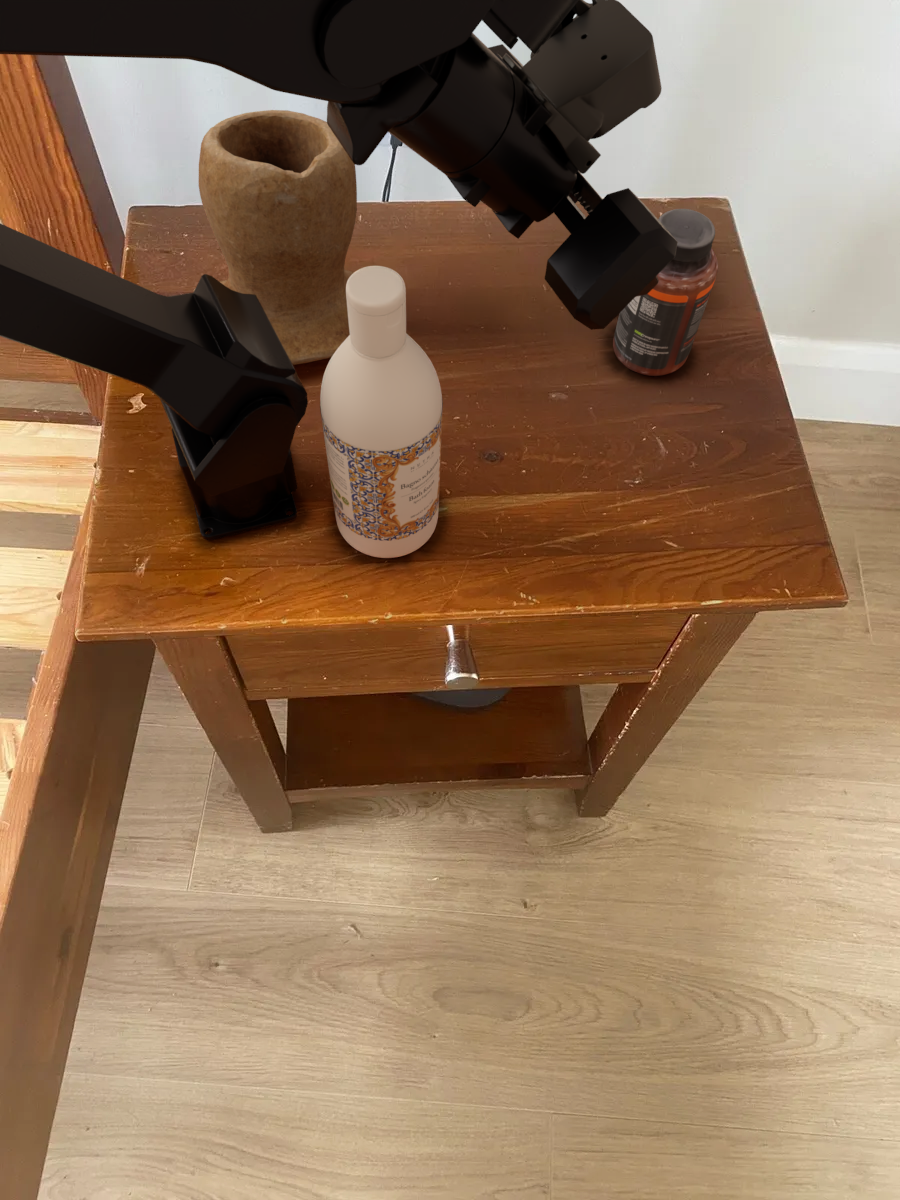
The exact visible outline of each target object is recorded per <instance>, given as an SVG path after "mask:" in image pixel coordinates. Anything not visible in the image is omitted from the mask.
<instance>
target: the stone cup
mask: <svg viewBox="0 0 900 1200" xmlns="http://www.w3.org/2000/svg"><path fill="white" fill-rule="evenodd" d="M199 151H200V153H199V159H198V190H199V195H200V196H199V197H200V200H201V204H202V208H203V210H204V213H205V215H206V219H207V221H208V224H209V226H210V228H211V231H212V233H213V236H214V238H215V240H216V242H217V245H218V247H219V249H220V251H221V253H222V255H223V258H224V261H225V263H226V266H227V272H228V276H227V277H228V278H227V279H224V280H221V281H220V280H218V281H219V282H220V283H222V284H223V285H224V286H226V287H228V288H229V289H231V290H233V291H236V292H239V293H242V294H254V295H256V296H257V298H258V300H259V302H260V304H261V306H262V307H263V309H264V311H265V313H266V315H267V317H268V319H269V321H270V323H271V325H272V326H273V328H274V330H275V332H276V334H277V336H278V338H279V340H280V342H281V343H282V345H283V347H284V349H285V351H286V353H287V355H288V357H289V359H290V361H291V362H292V364H293V366H295V365H302V364H306V363H312V362H317V361H321V360H328V359H331V357H332V356H333V354H334V353H335V351H336V350H337V349H338V348H339V346H340V345H341V344H342V343H343V342H344V341H345V339H346V338H347V337H348V336H349V335H350V332H349V322H348V311H347V299H346V284H347V281H348V279H349V277H350V276H351V275H352V274H353V273H354V272H355V271H352V270H349V269H345V263H346V258H347V254H348V250H349V247H350V245H351V242H352V237H353V234H354V229H355V226H356V225H355V224H356V220H357V212H358V189H357V188H358V187H357V184H358V183H357V171H356V165H355V164H354V163H353V162H352V160H351V159H350V157H349V156H348V154H347V153H346V151H345V150H344V148H343V147H342V145H341V144H340V142H339V141H338V139H337V138H336V136H335V135H334V133H333V132H332V130H331V129H330V127H329V126H328V124H327V120H326V121H325V120H324V119H321V118H319V117H315V116H312V115H309V114H306V113H302V112H297V111H292V110H287V109H285V110H282V109H281V110H280V109H268V110H258V111H257V110H256V111H250V112H249V111H248V112H244V113H241V114H237V115H233V116H230V117H227V118H225V119H222V120H221V121H219V122H217V123H215V125H213V126H211V127H210V128H209V129H208V130H207V132H206V133H205V134H204V136H203V138H202V141H201V143H200V149H199ZM194 290H195V288H194V289H193V291H194Z"/></svg>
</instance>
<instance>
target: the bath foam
mask: <svg viewBox="0 0 900 1200" xmlns="http://www.w3.org/2000/svg"><path fill="white" fill-rule="evenodd" d="M353 272H354V273H353V274H352V275H351V276H350V277H349V279H348V281H347V284H346V299H347V311H348V322H349V332H350V335H349V336H348V337H347V338H346V339H345V341H344V342H343V343H342V344H341V345H340V346H339V348H338V349H337V350H336V351H335V353H334V354H333V356H332V357H331V358H329V361H328V363H327V365H326V368H325V370H324V373H323V376H322V381H321V387H320V396H319V411H320V417H321V424H322V432H323V439H324V446H325V453H326V460H327V467H328V468H327V469H328V475H329V480H330V489H331V495H332V496H331V497H332V502H333V508H334V515H335V520H336V525H337V528H338V531H339V533H340V535H341V537H343V539H344V540H345V541H346V543H347V544H348V545H350V546H351V547H352V548H354V549H355V550H356V551H358V552H360V553H362V554H364V555H367V556H369V557H370V556H371V557H374V558H381V559H392V558H393V559H394V558H398V557H403V556H406V555H409V554H411V553H413V552H415V551H417V550H419V549H420V548H421V547H422V546H424V545H425V544H426V543H427V542H428V541H429V540H430V538H431V537H432V536H433V533H434V532H435V530H436V527H437V524H438V519H439V505H440V487H441V483H440V482H441V463H442V461H441V459H442V435H443V432H442V431H443V408H444V407H443V405H444V403H443V395H442V394H443V393H442V387H441V384H440V380H439V375H438V373H437V371H436V368H435V366H434V363H433V362H432V361H431V359H430V357H429V355H427V353H426V352H425V350H424V349H423V348H422V346H420V345H419V344H418V343H417V342H416V341H415V339H413V338H412V337H411V336H410V335H409V334H408V333H407V289H406V283H405V280H404V279H403V277H402V276H401V274H400V273H398V272H397V271H396V270H394V269H392V268H390V267H387V266H383V265H368V266H364V267H360V268H359V269H357V270H355V271H353Z"/></svg>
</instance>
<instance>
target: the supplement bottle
mask: <svg viewBox="0 0 900 1200" xmlns="http://www.w3.org/2000/svg"><path fill="white" fill-rule="evenodd" d="M657 219H658V220H659V221H660V222H661V223H662V225H663V226H664V227H665V228H666V229H667V230H668V231H669V233H670V234H671V235H672V236H673V237H674V238H675V239H676V241H677V242H678V243H677V249H676V255H675V258H674V259H673V260H672V261H671V262H670V263H669V264H668V265H667V266H666V267H665V268H664V269H663V270H662V271H661V272H660V273H659V274H658V275H657V277H658V280H659V282H658V284H657V285H656V286H655V287H654V288H653V289H652V290H651V291H650V292H649V293H648V294H646V295H642V296H637V297H635V298H634V299H633V300H632V301H631V302H630V303H629V304H628V305H627V306H626V307H625V308H624V309H623V310H622V311H621V312H620V313H619V314H618V318H617V322H616V325H615V330H614V334H613V339H612V347H613V352H614V354H615V356H616V358H617V360H618V361H619V362H620V363H621V364H622V365H624V367H626V368H627V369H629V370H631V371H633V372H634V373H638V374H640V375H644V376H650V377H653V376H654V377H657V376H659V377H660V376H666V375H669V374H672V373H674V372H676V371H678V370H680V368H681V367H682V366H683V365H685V363H686V361H687V359H688V357H689V355H690V353H691V351H692V348H693V345H694V342H695V339H696V335H697V334H698V331H699V328H700V325H701V322H702V318H703V317H704V313H705V310H706V307H707V304H708V301H709V299H710V296H711V293H712V290H713V287H714V285H715V282H716V279H717V277H718V276H717V275H718V270H719V263H718V258H717V255H716V252H715V250H714V249H713V243H714V240H715V237H716V228H715V224H714V223H713V221H712V220H711V219H710V218H709V217H708V216H706V215H705V214H703V213H702V212H699V211H696V210H694V209H691V208H674V209H671V210H670V209H669V210H667V211H666V212H663V213H662V214H661V215H659V217H658V218H657Z"/></svg>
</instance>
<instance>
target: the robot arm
mask: <svg viewBox="0 0 900 1200" xmlns="http://www.w3.org/2000/svg"><path fill="white" fill-rule="evenodd" d="M591 2H592V3H591ZM591 2H587V1H585V0H0V55H19V56H21V55H22V56H53V57H55V56H57V57H58V56H59V57H61V56H62V57H90V58H91V57H93V58H94V57H95V58H97V57H98V58H131V59H132V58H135V59H136V58H137V59H170V60H171V59H172V60H175V59H176V60H191V61H194V62H199V63H205V64H208V65H214V66H217V67H220V68H222V69H225V70H227V71H230V72H232V73H234V74H236V75H239V76H241V77H242V78H245V79H247V80H250V81H251V82H254V83H255V84H259V85H261V86H263V87H266V88H267V89H270V90H273V91H276V92H280V93H285V94H289V95H295V96H301V97H304V98H309V99H315V100H321V101H326V102H327V106H326V122H327V124H328V126H329V127H330V129H331V130H332V132H333V133H334V135H335V136H336V138H337V139H338V141H339V142H340V144H341V145H342V147H343V148H344V150H345V151H346V153H347V154H348V156H349V157H350V159H351V160H352V162H353V163H354V164H355V166H362V165H364V164H365V163H367V161H368V159H369V158H370V156H372V154H373V153H374V152H375V150H376V148H377V147H378V146H379V144H380V143H381V142H382V141H383V139H384V138H385V137H386V136H387V134H388V133H389V134H390V135H391V136H393V137H394V138H396V139H397V140H398V141H399V142H400V143H402V144H403V145H404V146H406V147H407V148H409V149H410V150H411V151H412V152H414V153H416V154H417V155H418V156H420V157H421V158H422V159H424V160H425V161H426V162H428V163H429V164H430V165H431V166H433V167H434V168H435V169H437V170H438V171H440V172H441V173H443V174H444V175H445V176H446V177H447V179H448V180H449V181H450V183H451V184H452V186H454V188H455V190H456V191H457V192H458V194H459V195H460V197H461V198H462V199H463V200H464V201H466V202H467V203H468V204H470V205H471V206H472V207H473V208H476V207H477V206H478V204H480V202H481V203H483V204H484V205H485V206H486V207H488V208H489V209H491V211H492V212H493V214H494V215H495V216H496V218H497V219H498V221H500V223H501V224H502V225H503V227H504V228H505V229H506V231H507V232H508V233H509V234H510V235H512V236H513V237H515V238H516V239H518V240H519V239H520V238H521V236H523V235H524V233H525V232H526V231H527V230H528V229H529V228H530V226H531V225H532V224H533V223H540V222H542V221H544V220H546V219H547V218H549V217H551V216H552V215H553V214H554V215H555V216H556V217H557V219H558V220H559V221H560V223H561V224H562V225H563V227H564V228H565V229H566V230H567V231H568V233H569V236H568V237H567V238H566V239H565V240H564V241H563V242H562V243H561V244H560V245H559V246H558V248H557V249H556V250H555V251H554V252H553V253H552V254H551V255H550V256H549V258H547V261H546V265H545V266H546V268H545V273H544V280H545V282H546V283H547V285H548V287H550V288H551V290H552V291H553V292H554V294H555V295H556V297H557V298H558V299H559V300H560V302H561V303H562V304H563V305H564V307H565V308H566V310H567V311H568V313H570V315H571V316H572V318H573V319H574V320H576V321H577V322H578V323H580V324H582V325H583V326H584V327H586V328H588V329H589V330H591V331H594V330H604V329H605V328H607V326H608V325H609V324H610V323H611V322H612V321H613V320H614V319H615V318H616V317H617V316H619V314H620V312H621V311H622V310H623V309H624V308H625V307H626V306H627V305H628V304H629V303H630V302H631V301H632V300H633V299H634V298H635V297H637V296H642V295H646V294H648V293H649V292H650V291H651V290H652V289H653V288H654V287H655V286H656V285H657V284H658V282H659V280H658V277H657V275H658V274H659V273H660V272H661V271H662V270H663V269H664V268H665V267H666V266H667V265H668V264H669V263H670V262H671V261H672V260H673V259H674V258H675V255H676V249H677V243H678V242H677V241H676V239H675V238H674V237H673V236H672V235H671V234H670V233H669V231H668V230H667V229H666V228H665V227H664V226H663V225H662V223H661V222H660V221H659V220H658V219H659V218H657V216H655V213H653V212H652V211H651V209H649V207H648V206H646V204H645V203H644V202H643V201H642V200H641V199H640V198H639V197H638V196H637V195H636V194H635V192H633V190H631V189H630V188H629V187H627V188H624V189H621V190H618V191H614V192H613V191H612V192H610V193H606V195H605V196H604V197H603V198H602V196H601V195H600V194H599V192H598V191H596V189H595V188H594V187H593V186H592V185H591V183H590V182H589V180H587V179H586V177H585V176H584V175H583V174H586V173H587V172H588V171H589V169H591V167H592V166H593V165H594V164H595V163H596V161H597V160H598V159H599V158H600V157H601V156H602V155H601V153H600V152H599V151H598V150H597V149H596V147H595V146H594V145H593V144H592V143H591V142H590V140H595V139H599V138H602V137H603V136H604V135H606V134H607V133H610V131H612V130H613V129H614V128H616V127H617V126H618V125H620V124H622V123H623V122H624V121H626V120H627V119H628V118H629V117H632V116H633V115H634V114H636V113H637V112H638V111H640V110H641V109H646V108H649V107H650V106H651V105H652V104H654V103H655V102H656V101H657V100H658V99H659V97H660V95H661V93H662V82H661V76H660V71H659V64H658V60H657V59H658V58H657V54H656V53H657V52H656V48H655V47H656V46H655V42H654V37H653V33H652V32H651V31H650V30H649V29H648V28H647V27H646V26H645V25H644V24H643V23H642V22H641V21H640V20H639V19H638V18H637V17H636V16H634V14H633V13H632V12H631V11H630V10H629V9H628V8H626V7H625V5H623V4H622V3H621V2H620V1H619V0H591ZM575 15H576V16H575ZM481 22H483V23H484V24H485V25H486V26H487V27H488V28H489V30H491V32H492V33H493V34H495V36H496V37H497V38H498V39H499V40H500V41H501V42H502V43H503V44H498V45H494V46H489V47H488V46H487V45H486V44H485V43H484V42H483V41H482V40H481V39H480V38H479V37H478V36H477V35H476V34H474V31H475V30H476V29H477V27H478V26H479V25H480V23H481ZM519 40H520V41H521V42H522V43H523V44H524V45H525V46H526V47H527V48H528V50H530V51H531V52H530V59H529V60H528V61H527V62H526V63H525V64H524V65H523V63H521V61H520V60H518V58H517V57H516V56H515V55H514V54H513V53H512V52H511V51H510V50H512V49H513V48H514V47H515V45H516V44H517V43H518V41H519ZM506 46H507V47H506ZM509 49H510V50H509ZM577 203H579V205H580V206H581V207H583V209H584V211H586V214H588V215H587V216H586V215H585V214H584V213H583V212H582V210H581V209H580V208H579V207H578V205H577ZM219 281H220V280H218V279H217V278H215V277H214V276H212V275H210V274H207V273H204V274H202V275H201V277H200V278H199V280H198V282H197V284H196V286H195V288H194V289H195V290H194V289H193V292H187V293H181V294H175V295H163V294H159V293H156V292H155V291H152V290H150V289H148V288H145V287H143V286H141V285H139V284H136V283H135V282H133V281H130V280H128V279H125V278H124V277H121V276H119V275H117V274H114V273H112V272H109V271H108V270H106V269H103V268H101V267H99V266H97V265H94V264H92V263H90V262H88V261H86V260H83V259H80V258H78V257H76V256H74V255H72V254H69V253H68V252H65V251H63V250H61V249H58V248H56V247H54V246H52V245H49V244H47V243H45V242H43V241H40V240H39V239H36V238H34V237H31V236H29V235H27V234H25V233H23V232H21V231H18V230H16V229H14V228H12V227H9V226H7V225H5V224H3V223H1V222H0V337H1V338H4V339H7V340H9V341H12V342H15V343H19V344H21V345H24V346H28V347H30V348H32V349H36V350H38V351H41V352H44V353H47V354H51V355H52V356H56V357H58V358H62V359H64V360H68V361H70V362H73V363H75V364H79V365H82V366H85V367H88V368H90V369H94V370H97V371H100V372H102V373H105V374H108V375H110V376H113V377H117V378H120V379H123V380H125V381H128V382H130V383H134V384H137V385H140V386H142V387H144V388H145V389H146V390H147V389H148V390H149V391H150V392H151V393H152V394H154V395H155V396H156V397H157V398H159V400H160V403H161V405H162V407H163V410H164V412H165V415H166V417H167V419H168V421H169V424H170V426H171V432H172V437H173V442H174V446H175V452H176V456H177V461H178V465H179V467H180V469H181V472H182V475H183V478H184V481H185V483H186V486H187V488H188V491H189V493H190V497H191V499H192V502H193V505H194V511H195V515H196V519H197V522H198V523H197V524H198V528H199V532H200V535H201V537H202V539H203V540H205V541H214V540H218V539H222V538H226V537H229V536H234V535H239V534H242V533H243V534H244V533H246V532H250V531H255V530H258V529H259V530H260V529H264V528H267V527H272V526H276V525H280V524H283V523H288V522H292V521H294V520H296V519H297V518H298V516H299V515H298V508H297V505H296V502H295V498H294V495H293V493H295V492H297V491H298V489H299V487H298V485H299V484H298V480H297V476H296V471H295V466H294V461H293V455H292V451H291V446H292V442H293V439H294V435H295V432H296V430H297V426H298V425H299V424H300V422H301V421H302V419H303V418H304V416H305V414H306V411H307V409H308V408H307V407H308V405H309V401H308V392H307V390H306V388H305V386H304V384H303V382H302V380H301V378H300V377H299V375H298V373H297V370H296V368H295V365H293V364H292V362H291V361H290V359H289V357H288V355H287V353H286V351H285V349H284V347H283V345H282V343H281V342H280V340H279V338H278V336H277V334H276V332H275V330H274V328H273V326H272V325H271V323H270V321H269V319H268V317H267V315H266V313H265V311H264V309H263V307H262V306H261V304H260V302H259V300H258V298H257V296H256V295H254V294H242V293H239V292H236V291H233V290H231V289H229V288H228V287H226V286H224V285H223V284H222V283H220V282H219ZM208 532H209V533H208Z"/></svg>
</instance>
